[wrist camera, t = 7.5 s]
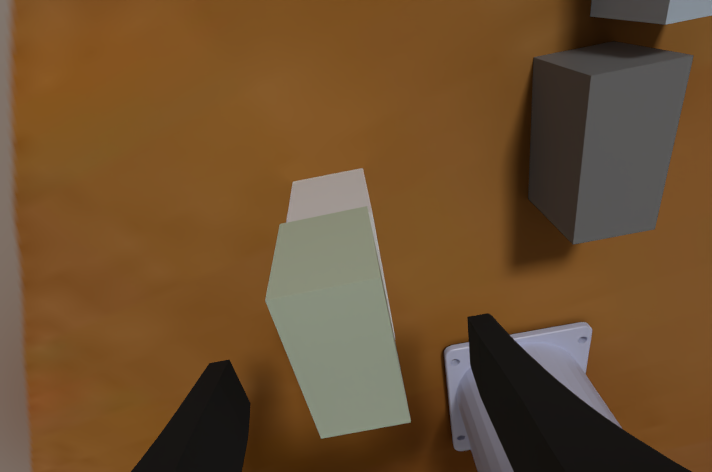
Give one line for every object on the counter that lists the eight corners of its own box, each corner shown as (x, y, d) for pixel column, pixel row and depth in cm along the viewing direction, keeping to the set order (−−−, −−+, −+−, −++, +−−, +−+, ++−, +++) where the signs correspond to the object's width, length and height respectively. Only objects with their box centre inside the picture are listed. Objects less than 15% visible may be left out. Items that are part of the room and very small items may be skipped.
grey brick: (383, 280, 21) (395, 338, 17) (323, 291, 21) (323, 351, 17) (362, 167, 17) (372, 211, 14) (292, 181, 18) (285, 228, 14)
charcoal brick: (593, 185, 19) (654, 229, 15) (527, 197, 19) (573, 244, 15) (612, 40, 16) (693, 54, 12) (532, 57, 16) (591, 75, 12)
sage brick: (393, 334, 17) (411, 422, 14) (321, 348, 17) (321, 438, 14) (367, 206, 14) (380, 277, 10) (280, 224, 14) (265, 300, 11)
